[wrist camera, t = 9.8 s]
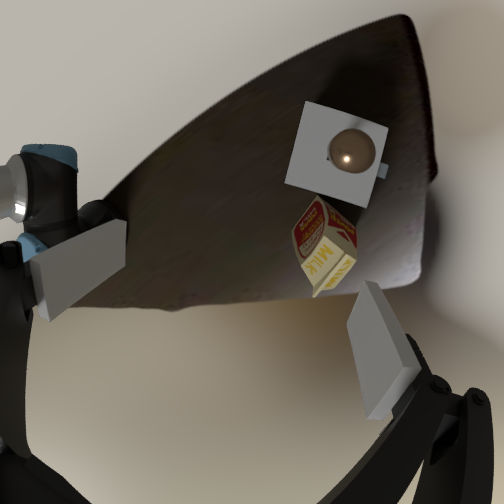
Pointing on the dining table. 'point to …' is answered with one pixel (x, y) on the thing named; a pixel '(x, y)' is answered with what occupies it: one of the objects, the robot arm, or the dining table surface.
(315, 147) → the grey box with hole
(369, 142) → the plunger
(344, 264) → the milk carton
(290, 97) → the dining table surface
